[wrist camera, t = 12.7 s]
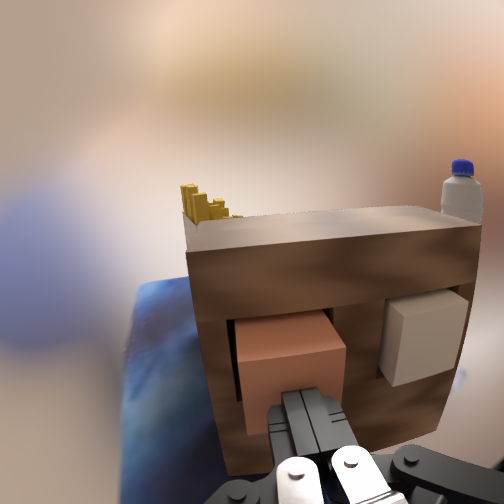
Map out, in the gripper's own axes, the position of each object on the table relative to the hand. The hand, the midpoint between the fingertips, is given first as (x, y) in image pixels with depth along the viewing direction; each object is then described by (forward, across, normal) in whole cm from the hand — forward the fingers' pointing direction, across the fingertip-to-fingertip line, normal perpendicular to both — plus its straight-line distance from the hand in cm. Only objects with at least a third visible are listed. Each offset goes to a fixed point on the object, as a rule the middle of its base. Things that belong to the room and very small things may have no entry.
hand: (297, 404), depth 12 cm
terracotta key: (+3, 0, +2) cm, 3 cm away
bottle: (+25, -30, +10) cm, 41 cm away
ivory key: (+4, -8, +2) cm, 9 cm away
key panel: (+8, -4, +10) cm, 13 cm away
